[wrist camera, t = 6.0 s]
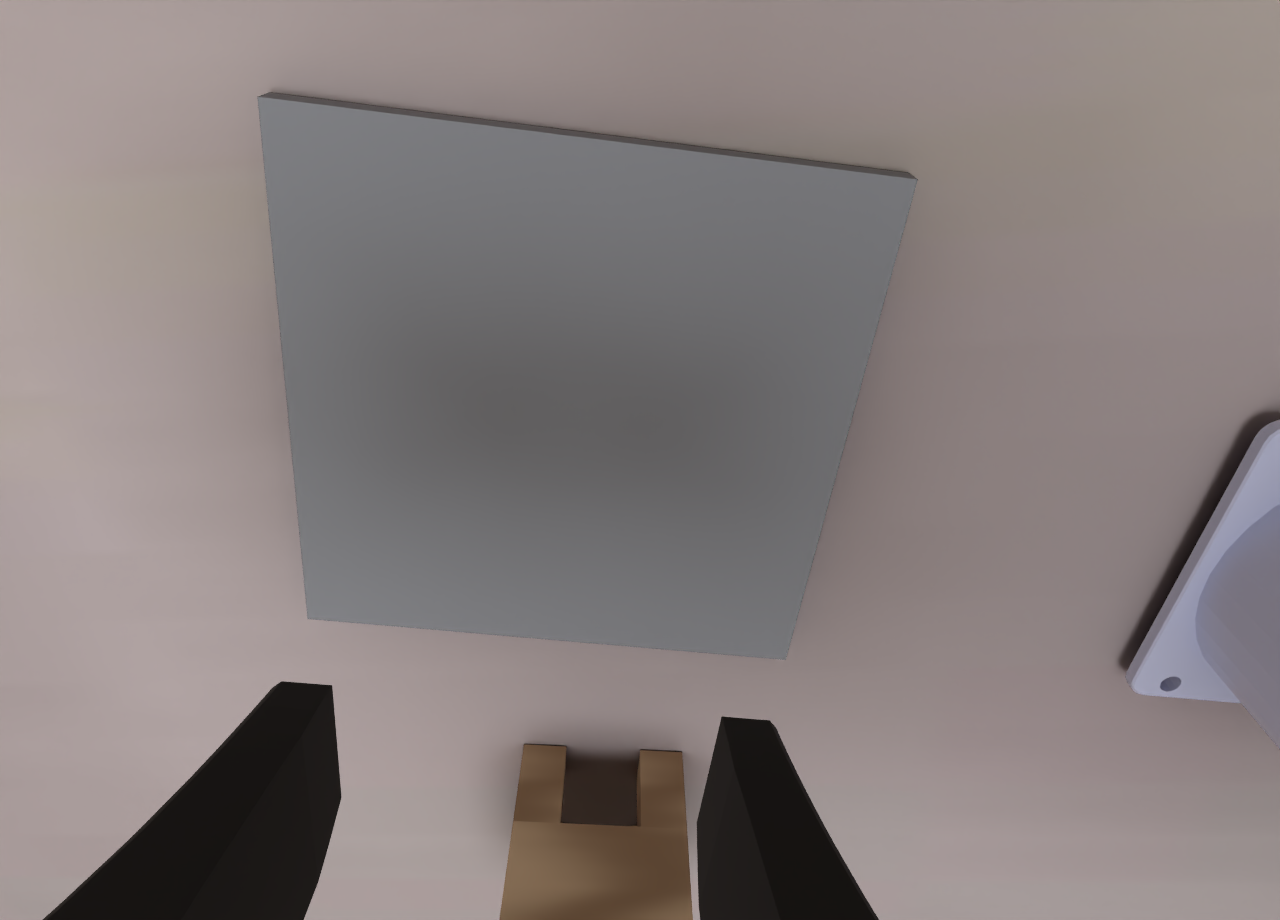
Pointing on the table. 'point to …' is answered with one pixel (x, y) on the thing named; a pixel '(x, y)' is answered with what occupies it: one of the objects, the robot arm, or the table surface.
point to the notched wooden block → (598, 848)
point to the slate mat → (566, 371)
